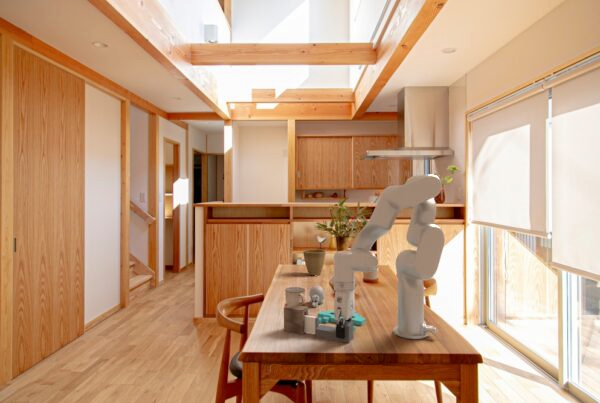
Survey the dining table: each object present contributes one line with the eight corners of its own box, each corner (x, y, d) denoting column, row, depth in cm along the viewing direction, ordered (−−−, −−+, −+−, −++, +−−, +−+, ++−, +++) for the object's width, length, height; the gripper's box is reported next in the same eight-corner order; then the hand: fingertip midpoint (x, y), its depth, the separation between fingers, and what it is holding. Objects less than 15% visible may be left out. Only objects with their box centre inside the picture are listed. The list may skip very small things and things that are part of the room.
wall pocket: (308, 330, 147) (308, 306, 147) (302, 334, 142) (302, 310, 142) (290, 327, 150) (290, 304, 150) (283, 331, 146) (283, 307, 146)
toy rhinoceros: (306, 312, 179) (304, 297, 176) (312, 296, 190) (310, 282, 186) (321, 313, 177) (319, 298, 174) (326, 297, 188) (324, 283, 184)
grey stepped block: (353, 338, 139) (353, 322, 139) (349, 343, 134) (349, 326, 134) (320, 332, 145) (320, 317, 145) (315, 337, 140) (315, 320, 140)
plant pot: (315, 271, 262) (315, 248, 262) (330, 275, 251) (330, 251, 250) (298, 274, 252) (298, 250, 252) (313, 278, 241) (313, 253, 241)
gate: (318, 333, 143) (318, 317, 143) (317, 334, 142) (317, 318, 141) (288, 327, 149) (288, 312, 149) (287, 329, 147) (287, 313, 147)
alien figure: (353, 333, 145) (371, 319, 162) (353, 328, 145) (371, 314, 162) (307, 324, 155) (329, 311, 172) (307, 319, 155) (329, 307, 172)
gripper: (345, 292, 128) (345, 344, 128) (361, 281, 144) (361, 328, 144) (325, 289, 131) (325, 341, 132) (342, 279, 147) (342, 325, 147)
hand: (344, 334), depth 138 cm, fingers open, 6 cm apart
